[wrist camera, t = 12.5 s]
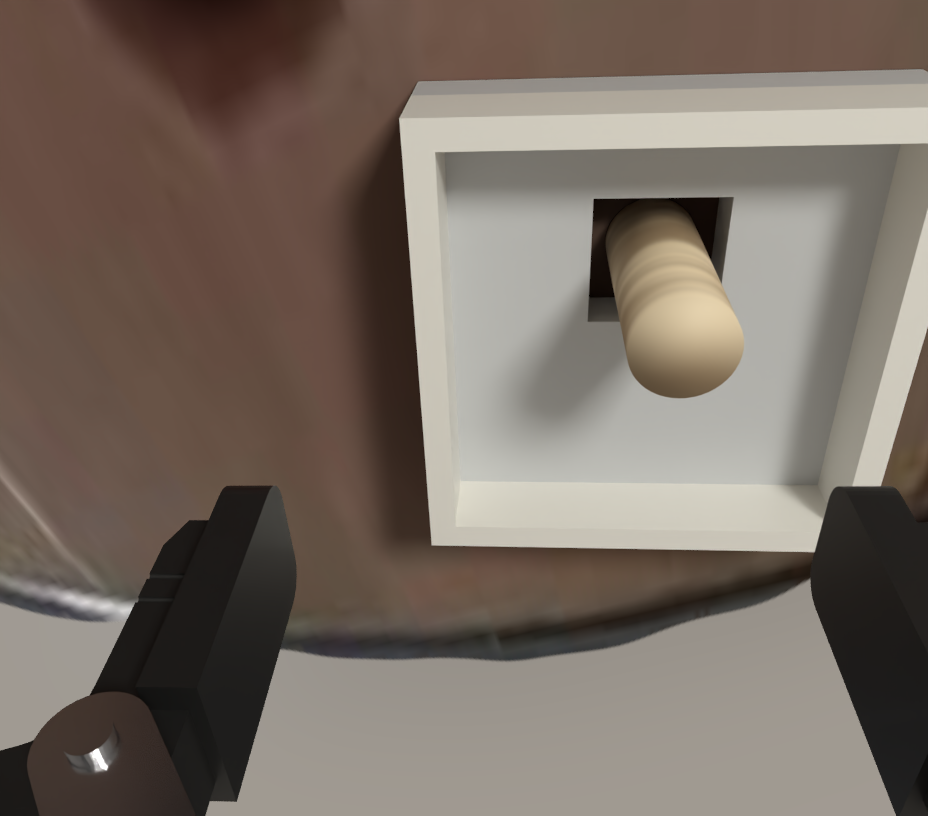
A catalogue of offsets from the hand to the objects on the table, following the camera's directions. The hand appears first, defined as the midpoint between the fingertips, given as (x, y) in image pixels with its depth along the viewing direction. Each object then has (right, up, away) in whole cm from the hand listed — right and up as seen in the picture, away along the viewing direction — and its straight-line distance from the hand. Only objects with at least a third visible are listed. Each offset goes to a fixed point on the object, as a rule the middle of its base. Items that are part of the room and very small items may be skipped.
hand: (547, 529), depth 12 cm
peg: (+7, +9, +25) cm, 28 cm away
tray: (+7, +7, +27) cm, 29 cm away
